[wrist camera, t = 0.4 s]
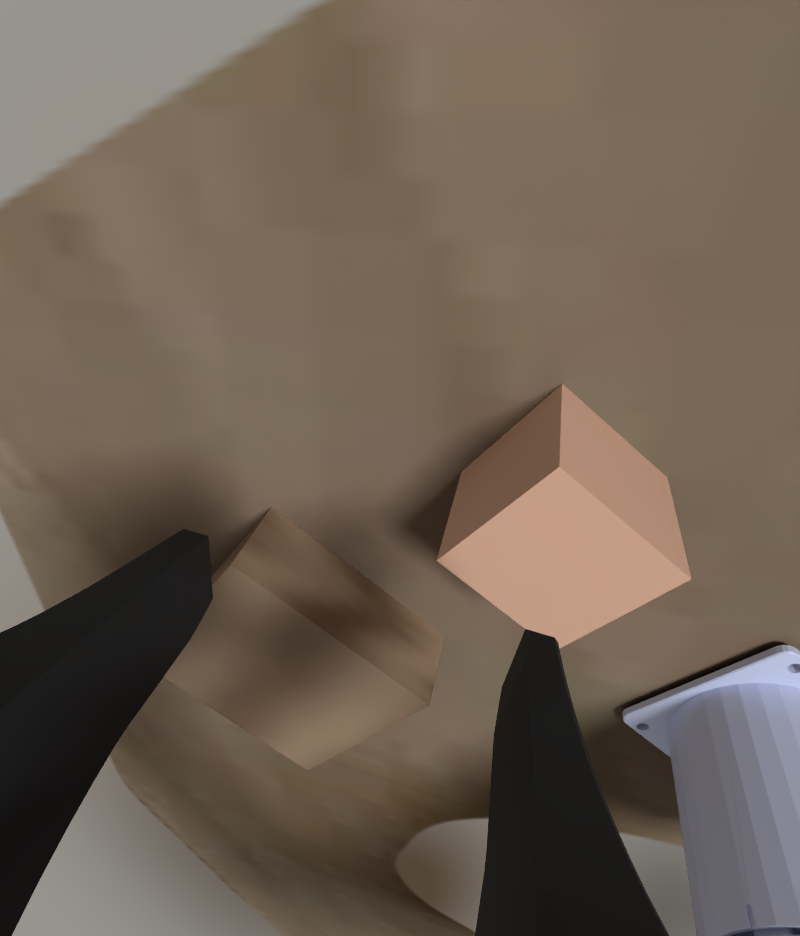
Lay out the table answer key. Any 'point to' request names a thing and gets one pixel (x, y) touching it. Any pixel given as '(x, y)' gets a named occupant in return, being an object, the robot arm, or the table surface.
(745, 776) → the robot arm
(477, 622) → the table surface
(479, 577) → the terracotta cube
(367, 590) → the walnut block
